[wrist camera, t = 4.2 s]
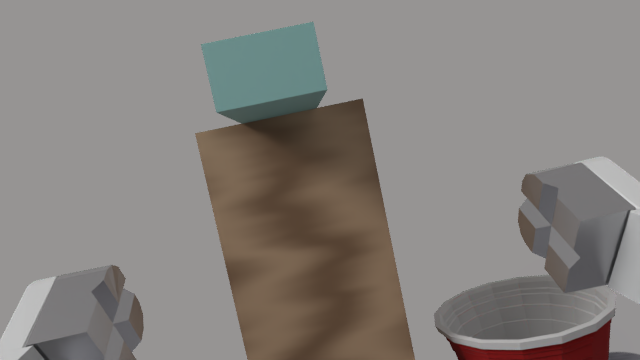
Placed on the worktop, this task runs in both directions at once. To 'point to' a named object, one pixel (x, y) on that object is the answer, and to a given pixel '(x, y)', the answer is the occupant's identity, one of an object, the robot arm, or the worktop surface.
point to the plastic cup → (528, 321)
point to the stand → (306, 236)
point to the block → (266, 73)
